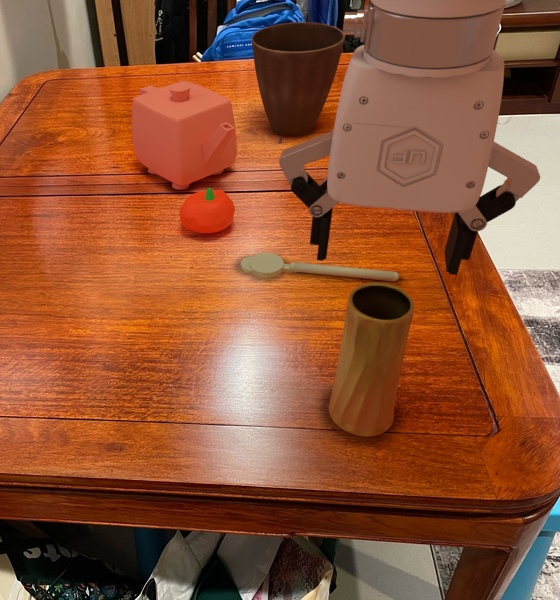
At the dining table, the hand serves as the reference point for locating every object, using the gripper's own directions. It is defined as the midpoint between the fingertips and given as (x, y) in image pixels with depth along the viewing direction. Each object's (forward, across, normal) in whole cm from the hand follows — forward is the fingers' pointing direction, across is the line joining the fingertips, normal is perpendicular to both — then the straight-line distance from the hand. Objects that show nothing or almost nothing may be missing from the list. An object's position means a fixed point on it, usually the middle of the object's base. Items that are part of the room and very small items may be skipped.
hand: (384, 257), depth 49 cm
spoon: (+19, -5, +22) cm, 29 cm away
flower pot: (+19, -13, +64) cm, 68 cm away
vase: (+19, +1, 0) cm, 19 cm away
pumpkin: (+19, -21, +30) cm, 41 cm away
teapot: (+20, -28, +46) cm, 57 cm away
